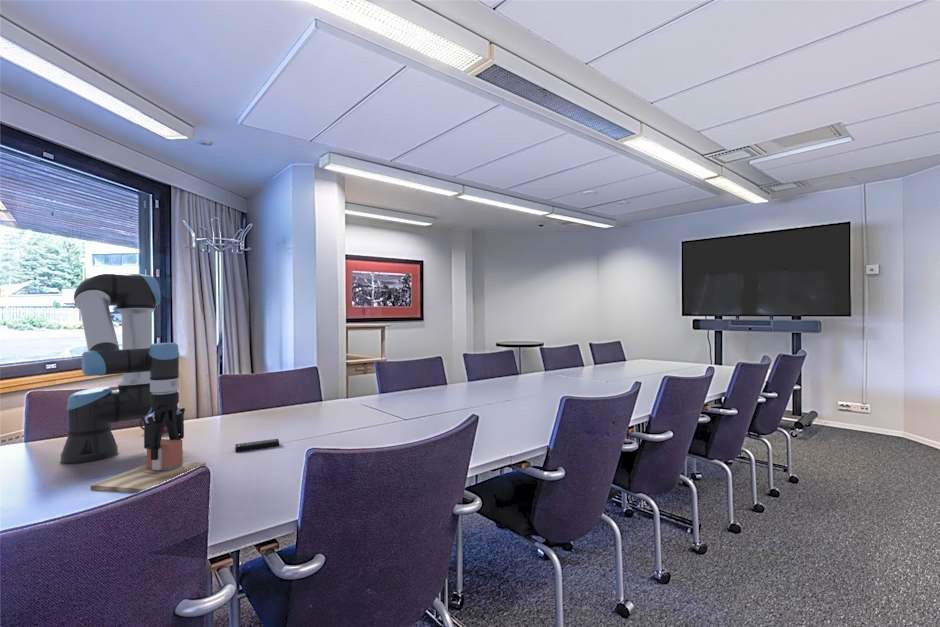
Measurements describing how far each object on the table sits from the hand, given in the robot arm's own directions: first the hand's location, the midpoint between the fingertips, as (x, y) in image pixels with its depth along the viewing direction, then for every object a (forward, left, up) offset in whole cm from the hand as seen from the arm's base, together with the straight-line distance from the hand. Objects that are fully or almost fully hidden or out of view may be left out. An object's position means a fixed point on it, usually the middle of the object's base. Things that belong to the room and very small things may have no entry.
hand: (165, 466), depth 140 cm
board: (0, -5, -2) cm, 5 cm away
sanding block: (0, 0, 0) cm, 0 cm away
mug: (-44, +40, -2) cm, 60 cm away
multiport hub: (+13, +27, -2) cm, 30 cm away
